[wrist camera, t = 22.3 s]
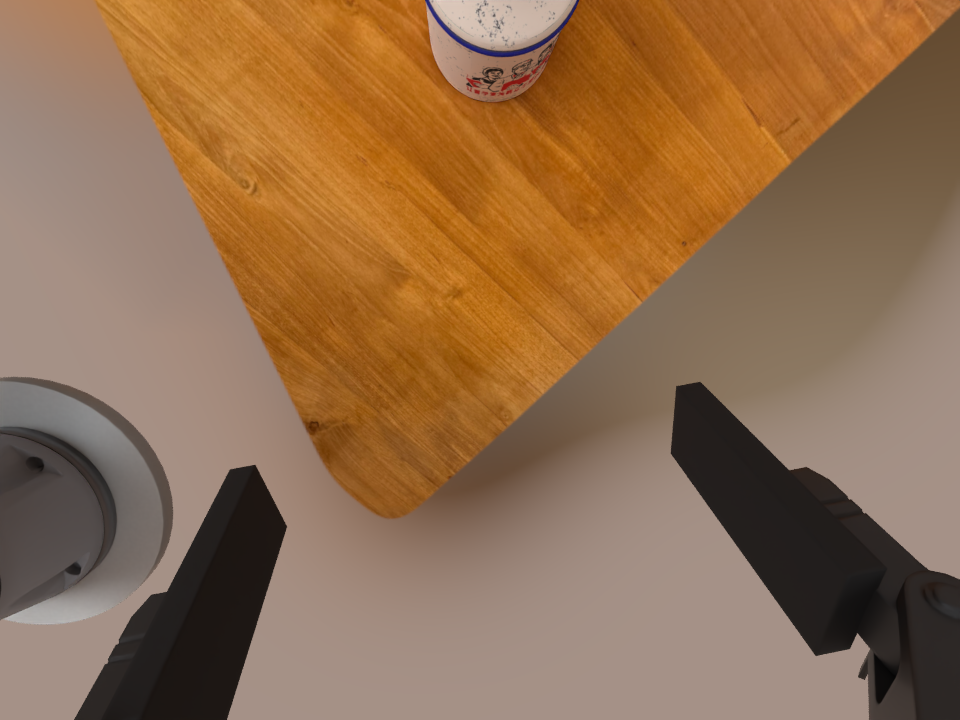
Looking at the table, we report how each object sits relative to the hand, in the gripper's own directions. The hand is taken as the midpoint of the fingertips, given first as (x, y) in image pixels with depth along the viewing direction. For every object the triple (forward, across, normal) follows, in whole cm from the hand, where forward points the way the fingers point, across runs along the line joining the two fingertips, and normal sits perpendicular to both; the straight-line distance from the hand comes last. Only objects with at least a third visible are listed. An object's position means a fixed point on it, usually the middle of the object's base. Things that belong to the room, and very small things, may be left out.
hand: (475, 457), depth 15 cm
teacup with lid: (+29, +8, +14) cm, 33 cm away
